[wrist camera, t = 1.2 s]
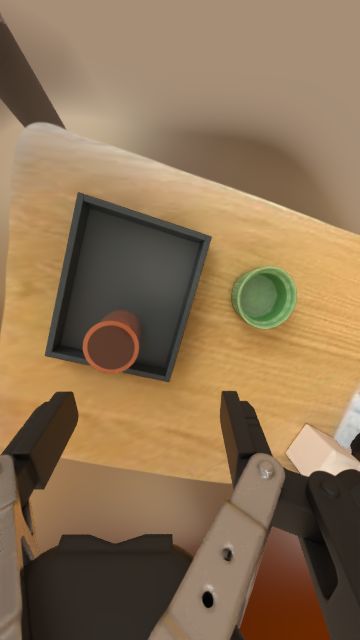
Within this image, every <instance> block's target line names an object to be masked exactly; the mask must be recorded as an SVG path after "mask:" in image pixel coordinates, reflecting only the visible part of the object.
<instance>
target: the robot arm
mask: <svg viewBox="0 0 360 640" xmlns="http://www.w3.org/2000/svg"><path fill="white" fill-rule="evenodd" d="M77 422H78V410H77V406H76V402H75V398H74V394H73V392H56V393H55V394H54V395H53V397H52V398H51V399H50V401H49V402H44V403H43V404H42V405H41V406H39V407H38V408H37V409H35V411H34V412H33V413H32V415H31V416H30V417H29V420H27V421H26V423H25V424H24V426H23V427H22V428H21V429H20V430H19V432H18V433H17V434H16V436H15V437H14V438H13V440H12V441H11V442H10V444H9V445H8V446H7V447H6V449H5V450H4V451H3V453H2V454H1V455H0V640H245V639H244V637H243V635H242V633H241V631H240V630H239V628H240V625H241V622H242V618H243V615H244V612H245V609H246V606H247V603H248V600H249V597H250V593H251V590H252V587H253V584H254V581H255V577H256V574H257V570H258V567H259V564H260V561H261V558H262V555H263V552H264V549H265V546H266V543H267V540H268V537H269V534H270V530H271V528H272V526H274V527H276V528H279V529H282V530H284V531H287V532H289V533H292V534H294V535H297V536H298V538H299V541H300V544H301V548H302V551H303V553H304V557H305V560H306V563H307V566H308V569H309V572H310V575H311V578H312V582H313V585H314V588H315V590H316V594H317V597H318V600H319V603H320V606H321V610H322V612H323V615H324V618H325V621H326V625H327V628H328V631H329V634H330V637H331V640H360V508H359V507H358V505H357V503H356V501H355V500H354V498H353V496H352V494H351V493H350V491H349V489H348V488H347V486H346V485H345V484H344V483H343V482H342V481H341V480H340V479H339V478H337V477H336V476H334V475H333V474H331V473H328V472H325V471H314V472H312V473H311V474H310V476H309V477H308V476H304V475H301V474H298V473H295V472H292V471H289V470H287V469H285V468H284V467H282V465H281V464H280V463H279V462H278V461H277V460H276V459H275V458H274V457H273V456H272V453H271V451H270V448H269V446H268V443H267V441H266V438H265V436H264V433H263V431H262V428H261V426H260V423H259V420H258V419H257V415H256V413H255V410H254V408H253V407H252V406H251V405H250V404H249V403H248V402H247V401H240V400H239V397H238V394H237V392H236V391H222V394H221V407H220V422H221V428H222V433H223V438H224V443H225V448H226V453H227V458H228V464H229V469H230V474H231V479H232V484H233V488H234V491H233V492H232V495H231V496H230V498H229V499H228V500H225V501H224V503H223V504H222V506H221V508H220V510H219V512H218V513H217V515H216V517H215V519H214V521H213V523H212V525H211V527H210V529H209V531H208V533H207V535H206V536H205V539H204V540H203V542H202V544H201V546H200V548H199V550H198V552H197V553H196V555H195V557H193V556H192V555H191V554H190V553H189V552H187V551H186V550H185V549H183V548H181V547H179V546H177V545H175V544H173V540H172V534H145V535H142V536H139V537H136V538H133V539H130V540H127V541H123V542H120V543H117V544H114V543H111V542H108V541H105V540H103V539H100V538H97V537H94V536H92V535H62V537H61V540H60V542H59V545H58V546H55V547H53V548H51V549H49V550H47V551H46V552H44V553H42V554H41V555H40V551H39V548H38V544H37V539H36V534H35V526H34V519H33V512H32V506H31V500H30V495H31V494H32V492H33V490H34V489H44V488H45V486H46V484H47V482H48V480H49V478H50V477H51V475H52V473H53V471H54V468H55V467H56V465H57V463H58V461H59V459H60V457H61V455H62V453H63V451H64V449H65V447H66V445H67V443H68V441H69V439H70V437H71V435H72V433H73V431H74V429H75V427H76V425H77Z"/></svg>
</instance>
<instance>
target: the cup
mask: <svg viewBox="0 0 360 640" xmlns="http://www.w3.org/2000/svg"><path fill="white" fill-rule="evenodd" d="M141 334H142V327H141V323H140V321H139V319H138V318H137V317H136V316H135V315H134V314H133V313H131V312H129V311H126V310H115V311H112V312H110V313H108V314H107V315H106V316H105V317H103V318H102V319H101V320H100V321H99V322H98V323H97V324H95V325H94V326H93V327H92V328H91V329H90V330H89V331H88V332H87V334H86V336H85V338H84V341H83V352H84V356H85V358H86V360H87V361H88V363H89V364H90V365H91V366H92V367H94V368H95V369H97V370H99V371H101V372H104V373H118V372H122V371H124V370H126V369H127V368H129V367H130V366H131V365H132V364H133V363H134V362H135V360H136V358H137V356H138V353H139V347H140V340H141Z"/></svg>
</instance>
